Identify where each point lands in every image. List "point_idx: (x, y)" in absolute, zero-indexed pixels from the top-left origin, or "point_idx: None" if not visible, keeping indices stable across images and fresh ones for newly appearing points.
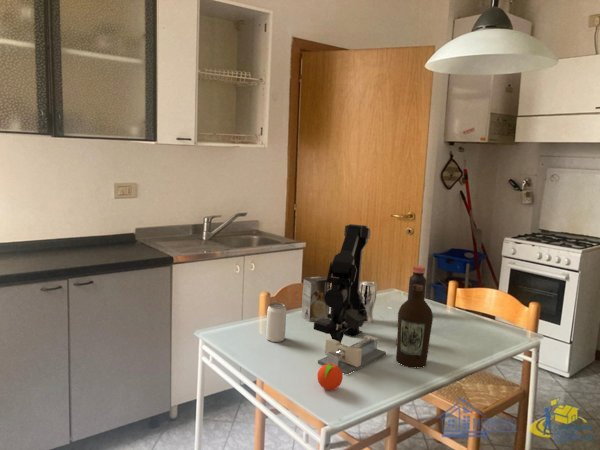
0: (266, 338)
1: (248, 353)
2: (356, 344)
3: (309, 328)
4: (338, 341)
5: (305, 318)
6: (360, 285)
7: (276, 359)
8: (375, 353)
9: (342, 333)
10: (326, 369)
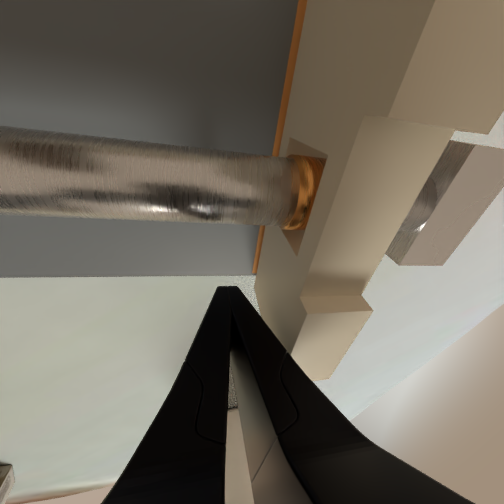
0: None
1: (361, 390)
2: (44, 182)
3: (61, 438)
4: (311, 321)
5: (12, 477)
6: None
7: (370, 350)
8: None
9: (226, 423)
10: None
